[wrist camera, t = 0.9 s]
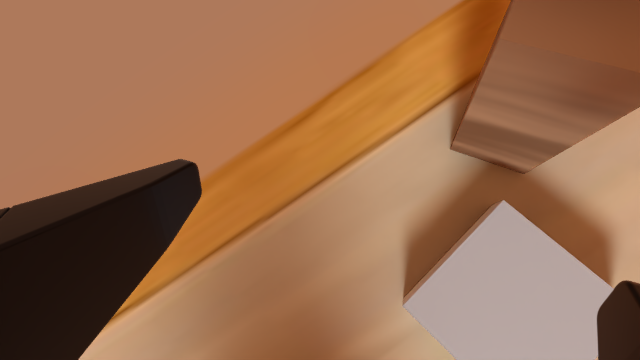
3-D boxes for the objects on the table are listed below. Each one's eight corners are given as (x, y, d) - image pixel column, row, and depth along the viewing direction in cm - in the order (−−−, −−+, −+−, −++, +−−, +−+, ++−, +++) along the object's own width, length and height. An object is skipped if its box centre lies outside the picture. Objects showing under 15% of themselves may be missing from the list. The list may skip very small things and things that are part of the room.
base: (611, 302, 18) (642, 311, 16) (510, 403, 18) (525, 428, 16) (492, 204, 20) (503, 200, 18) (403, 298, 20) (402, 306, 18)
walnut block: (524, 173, 20) (681, 82, 8) (450, 149, 21) (499, 38, 9) (549, 105, 20) (737, -74, 9) (475, 84, 21) (553, -100, 10)
